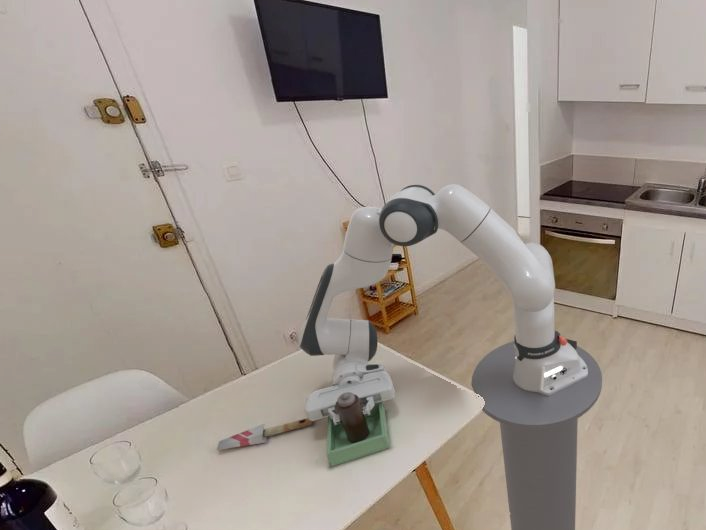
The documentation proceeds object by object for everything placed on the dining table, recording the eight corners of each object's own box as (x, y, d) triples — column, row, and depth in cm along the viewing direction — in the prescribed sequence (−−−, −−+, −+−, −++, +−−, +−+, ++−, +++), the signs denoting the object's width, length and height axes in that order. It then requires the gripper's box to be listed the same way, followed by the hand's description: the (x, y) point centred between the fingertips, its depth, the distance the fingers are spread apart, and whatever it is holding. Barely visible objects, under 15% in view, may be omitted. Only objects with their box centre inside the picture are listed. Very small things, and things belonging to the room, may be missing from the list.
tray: (385, 412, 107) (381, 400, 105) (389, 447, 97) (385, 435, 95) (332, 427, 103) (328, 416, 101) (331, 466, 93) (326, 454, 91)
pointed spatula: (217, 435, 97) (311, 411, 105) (221, 443, 99) (313, 419, 106) (213, 447, 94) (310, 422, 102) (217, 455, 96) (312, 430, 103)
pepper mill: (369, 424, 102) (355, 383, 96) (370, 438, 98) (356, 397, 92) (347, 430, 101) (332, 389, 94) (347, 445, 97) (332, 404, 90)
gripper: (303, 384, 102) (298, 422, 90) (388, 362, 108) (394, 395, 97) (311, 402, 105) (307, 442, 94) (393, 380, 112) (399, 414, 100)
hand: (352, 418), depth 95 cm, fingers closed on pepper mill, 5 cm apart
